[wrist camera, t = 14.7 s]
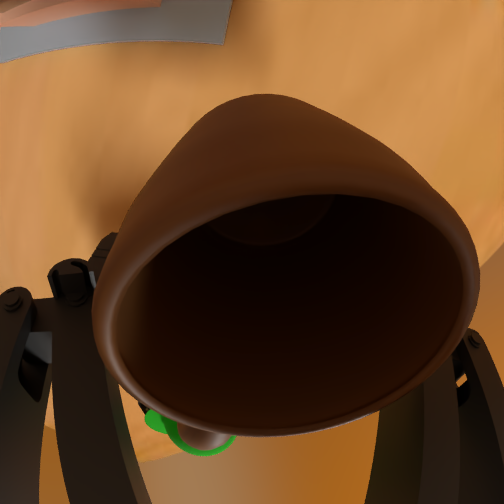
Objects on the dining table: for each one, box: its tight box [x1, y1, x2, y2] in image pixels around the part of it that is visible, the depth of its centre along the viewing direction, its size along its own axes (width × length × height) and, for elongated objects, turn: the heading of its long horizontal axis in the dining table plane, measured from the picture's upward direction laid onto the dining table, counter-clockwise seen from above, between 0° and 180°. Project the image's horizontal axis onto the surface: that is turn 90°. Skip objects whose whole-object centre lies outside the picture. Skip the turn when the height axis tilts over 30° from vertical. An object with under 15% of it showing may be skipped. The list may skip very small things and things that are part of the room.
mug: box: [91, 94, 480, 450], centre depth 10 cm, size 12×8×9 cm, turn 156°
